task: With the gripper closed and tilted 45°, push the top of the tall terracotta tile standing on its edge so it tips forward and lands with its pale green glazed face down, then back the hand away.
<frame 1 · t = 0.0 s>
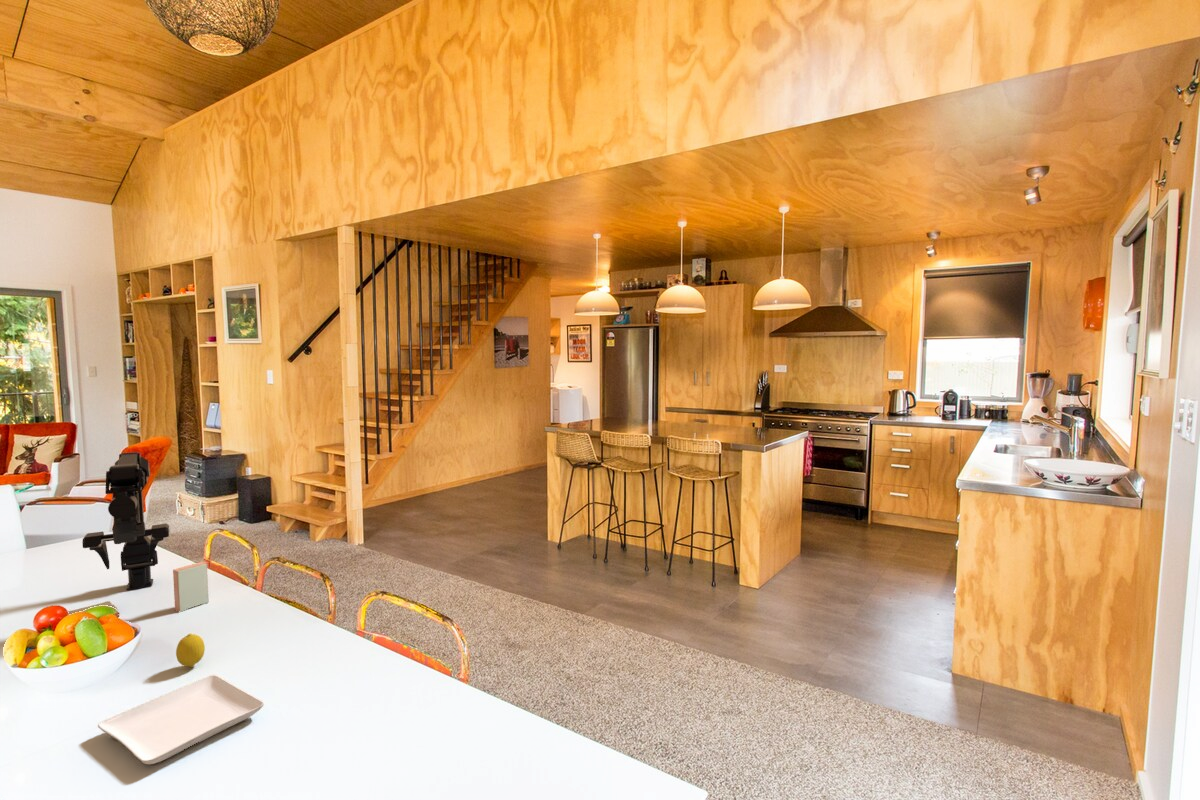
hand: (129, 565, 169), 15 cm above the table, tool pointing down, fingers open, 9 cm apart
tile: (192, 606, 177), on the table
salad plate: (184, 729, 119), on the table
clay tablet: (90, 617, 171), on the table
lemon: (191, 667, 142), on the table
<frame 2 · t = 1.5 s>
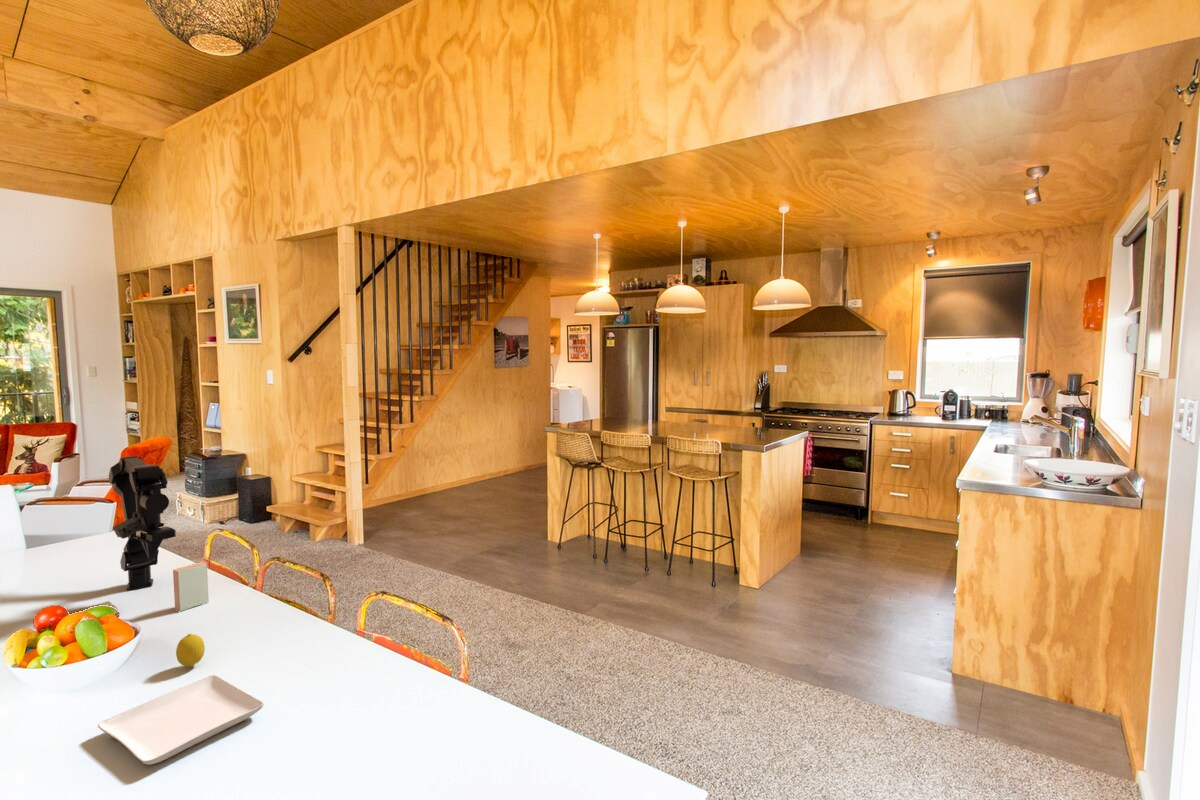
hand: (150, 558, 183), 12 cm above the table, tool pointing down, fingers closed
nothing on the table moved.
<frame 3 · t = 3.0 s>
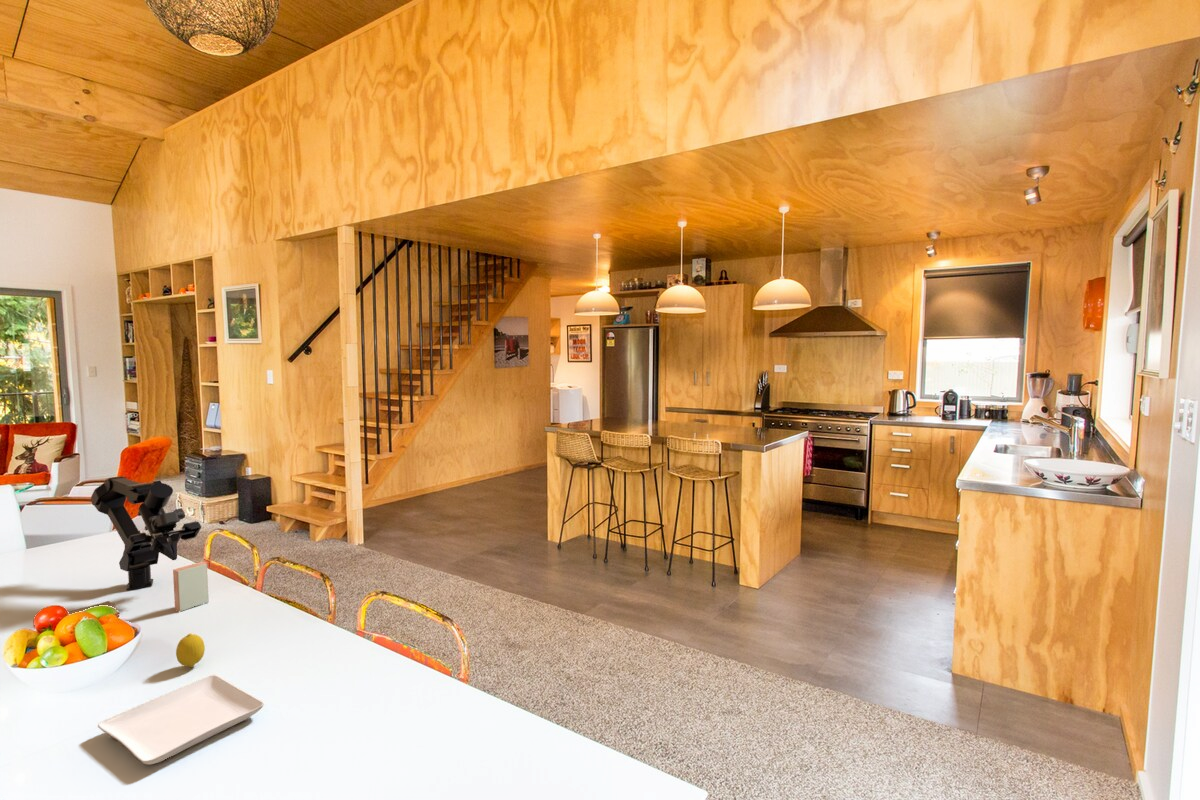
hand: (175, 559, 180), 13 cm above the table, tool tilted 45°, fingers closed
nothing on the table moved.
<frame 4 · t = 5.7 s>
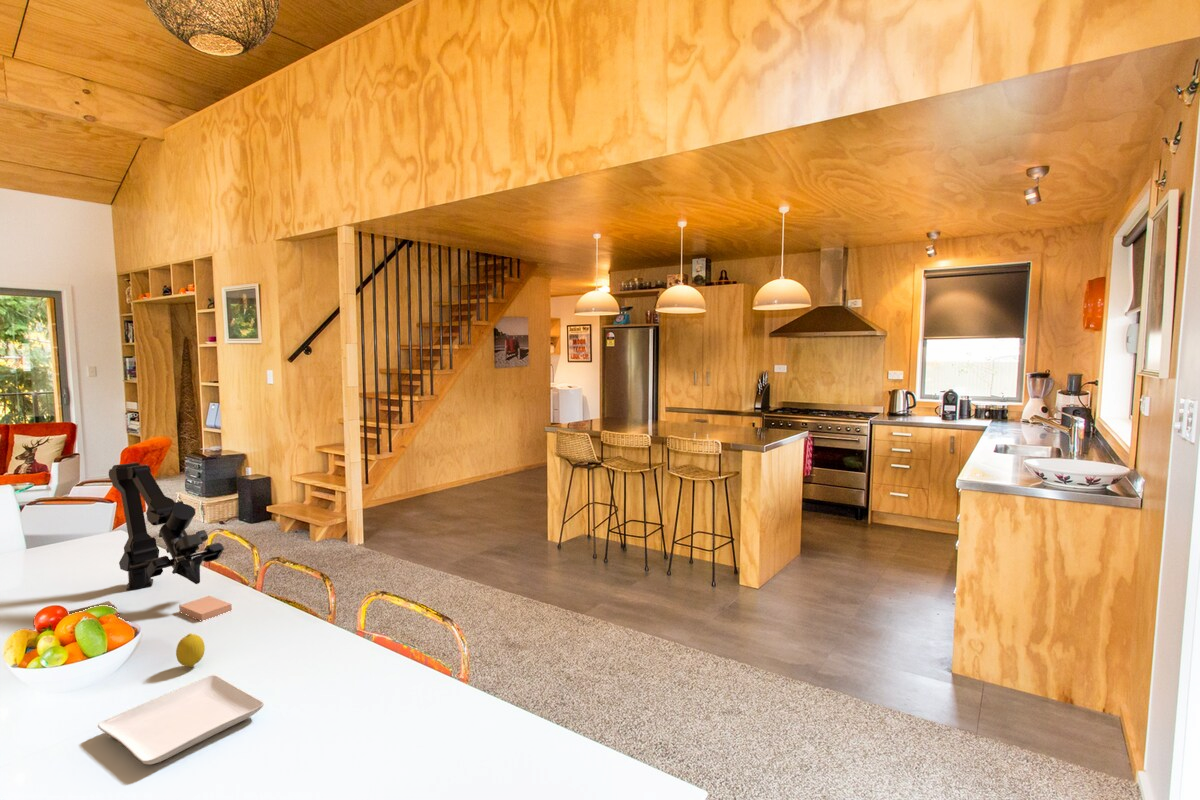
hand: (198, 583, 174), 8 cm above the table, tool tilted 45°, fingers closed
tile: (194, 604, 176), point 1 cm above the table, tilted 90°
everything else where it was.
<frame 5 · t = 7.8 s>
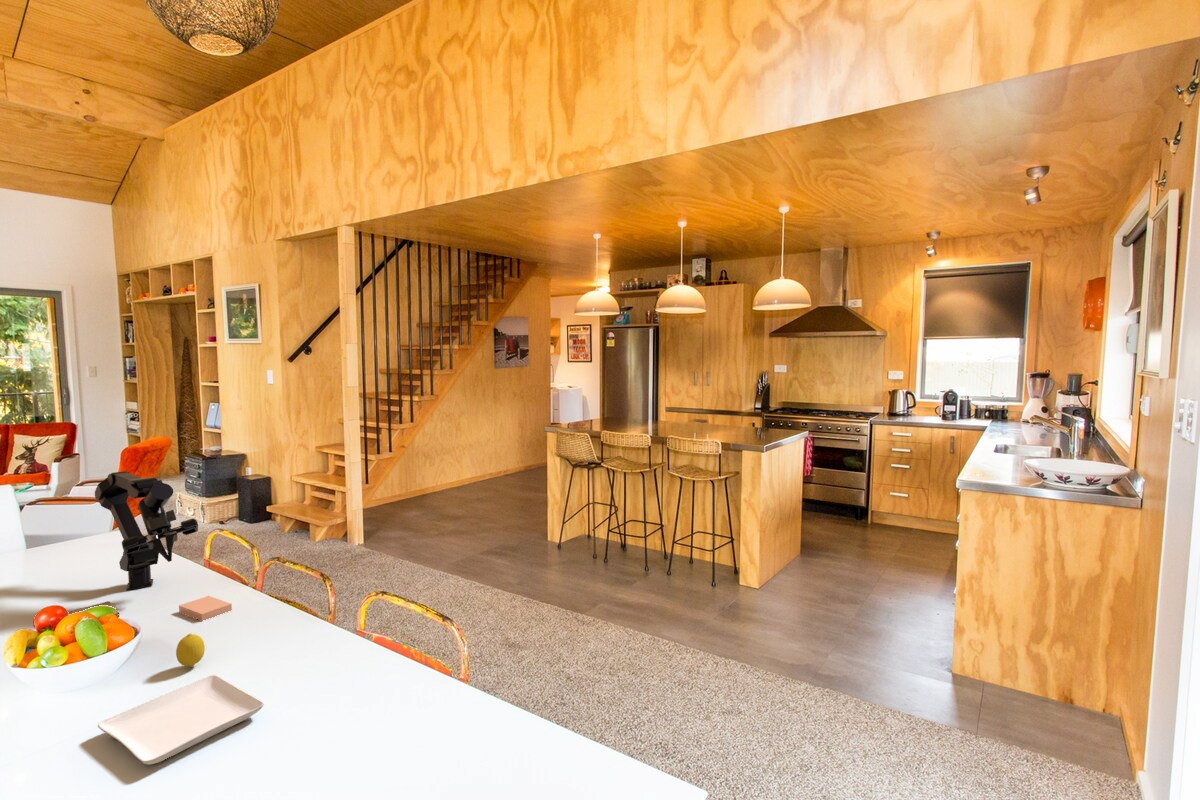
hand: (170, 561, 181), 12 cm above the table, tool tilted 35°, fingers closed
nothing on the table moved.
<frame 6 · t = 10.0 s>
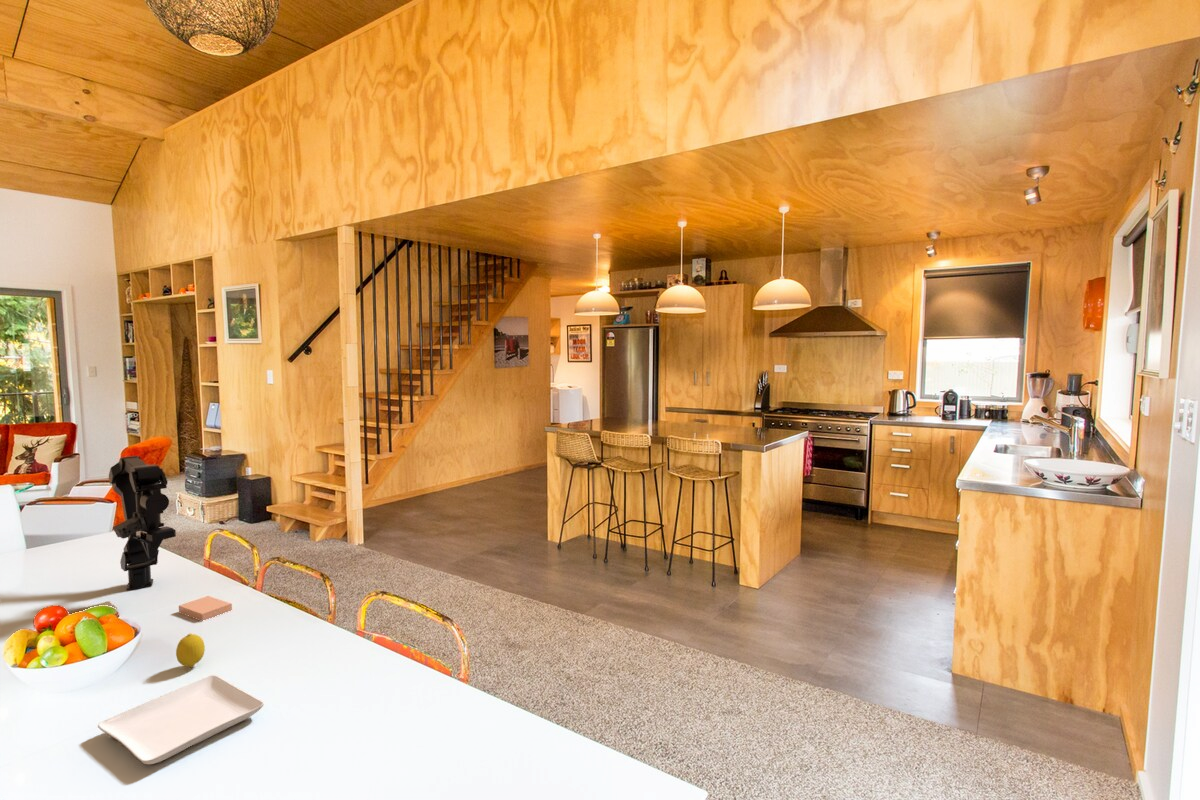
hand: (151, 558, 183), 12 cm above the table, tool pointing down, fingers closed
nothing on the table moved.
at the end: tile tilted 90°; tile inside the target area (5.2 cm from its centre), point 0.8 cm above the table; the gripper is holding nothing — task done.
